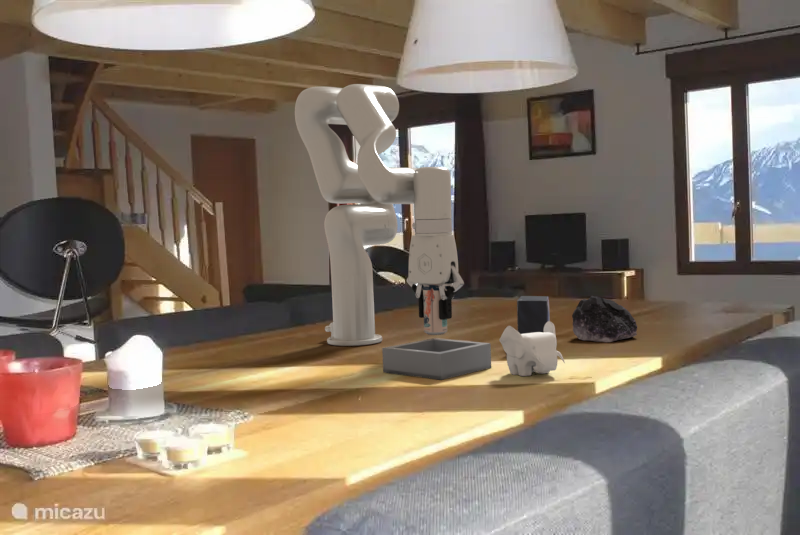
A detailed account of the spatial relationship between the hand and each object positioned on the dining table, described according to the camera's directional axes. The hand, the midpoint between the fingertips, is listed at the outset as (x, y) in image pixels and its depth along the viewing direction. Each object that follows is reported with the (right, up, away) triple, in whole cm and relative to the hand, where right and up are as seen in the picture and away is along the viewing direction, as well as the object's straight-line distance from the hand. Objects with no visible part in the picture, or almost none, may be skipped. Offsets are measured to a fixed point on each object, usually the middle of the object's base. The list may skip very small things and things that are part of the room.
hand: (435, 316), depth 176 cm
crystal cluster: (+38, -6, +15) cm, 41 cm away
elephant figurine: (+16, -9, -26) cm, 32 cm away
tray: (0, -9, -18) cm, 20 cm away
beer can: (0, -4, 0) cm, 4 cm away
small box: (+21, -7, +5) cm, 23 cm away
